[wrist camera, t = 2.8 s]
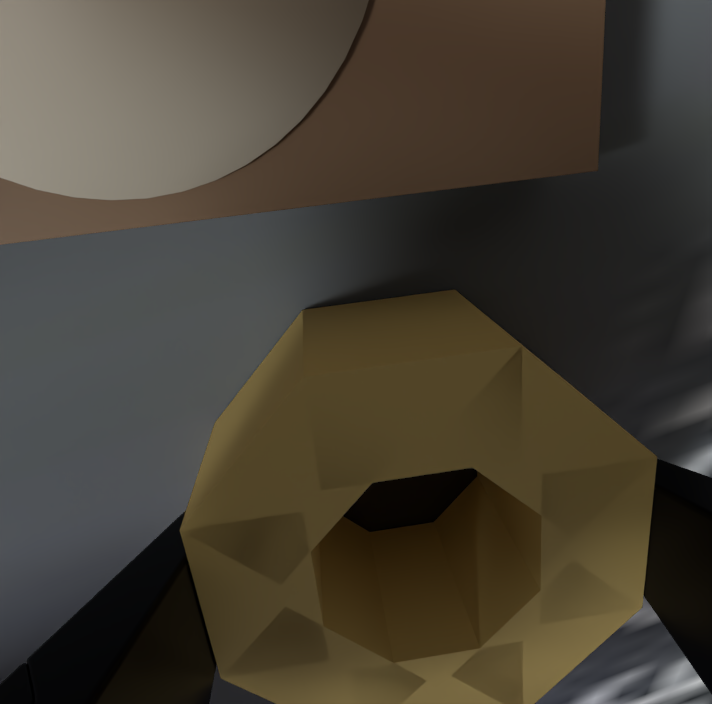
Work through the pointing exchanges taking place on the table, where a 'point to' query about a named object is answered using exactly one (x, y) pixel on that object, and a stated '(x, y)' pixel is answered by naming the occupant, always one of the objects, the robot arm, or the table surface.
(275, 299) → the table surface
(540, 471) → the tan ring
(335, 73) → the gear board
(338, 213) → the table surface
